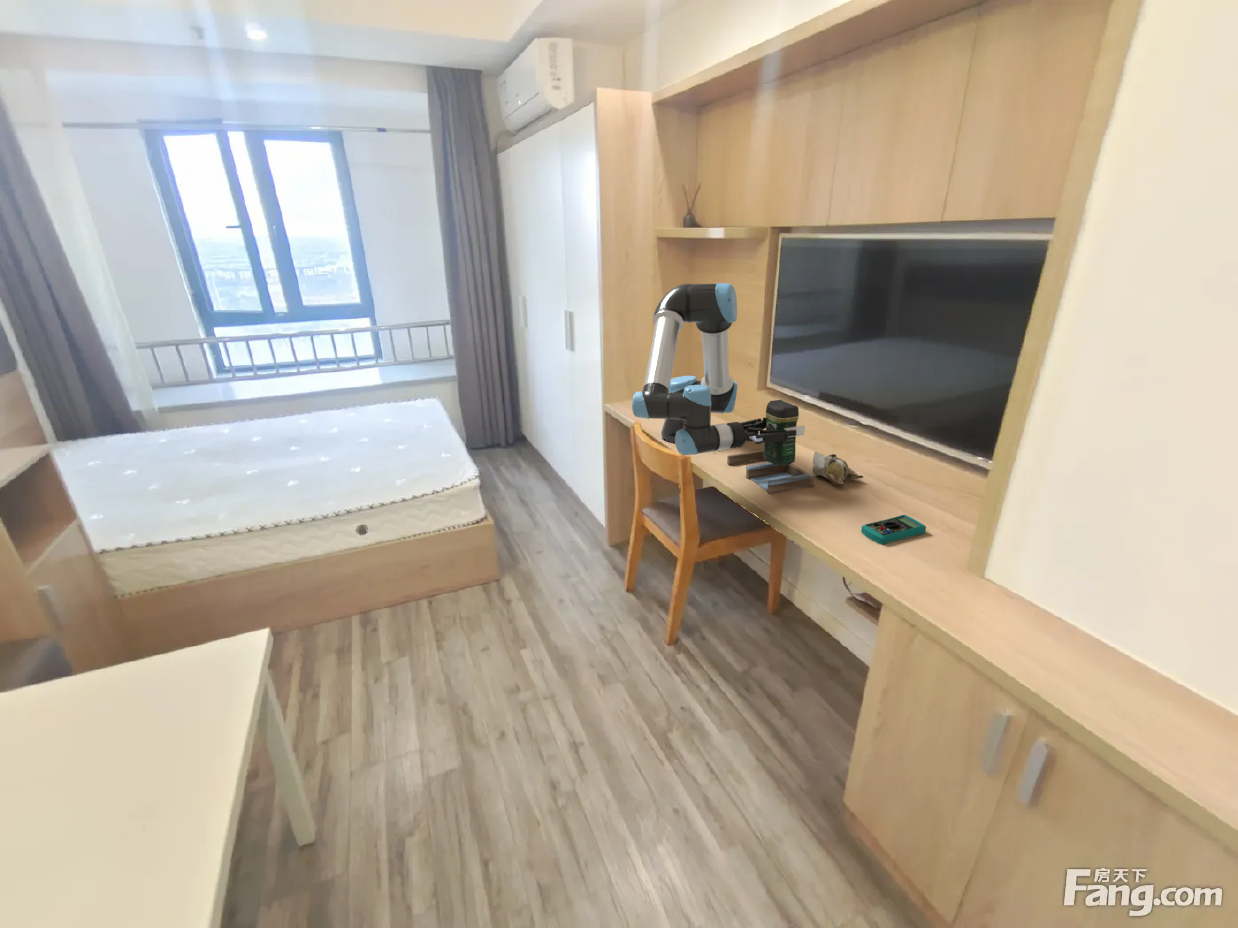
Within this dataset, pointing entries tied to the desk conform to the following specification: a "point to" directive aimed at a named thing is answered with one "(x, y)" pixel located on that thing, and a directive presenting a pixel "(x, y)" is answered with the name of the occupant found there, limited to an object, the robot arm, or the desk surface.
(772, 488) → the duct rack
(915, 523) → the digital multimeter
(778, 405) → the coffee jar
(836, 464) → the ceramic sculpture
